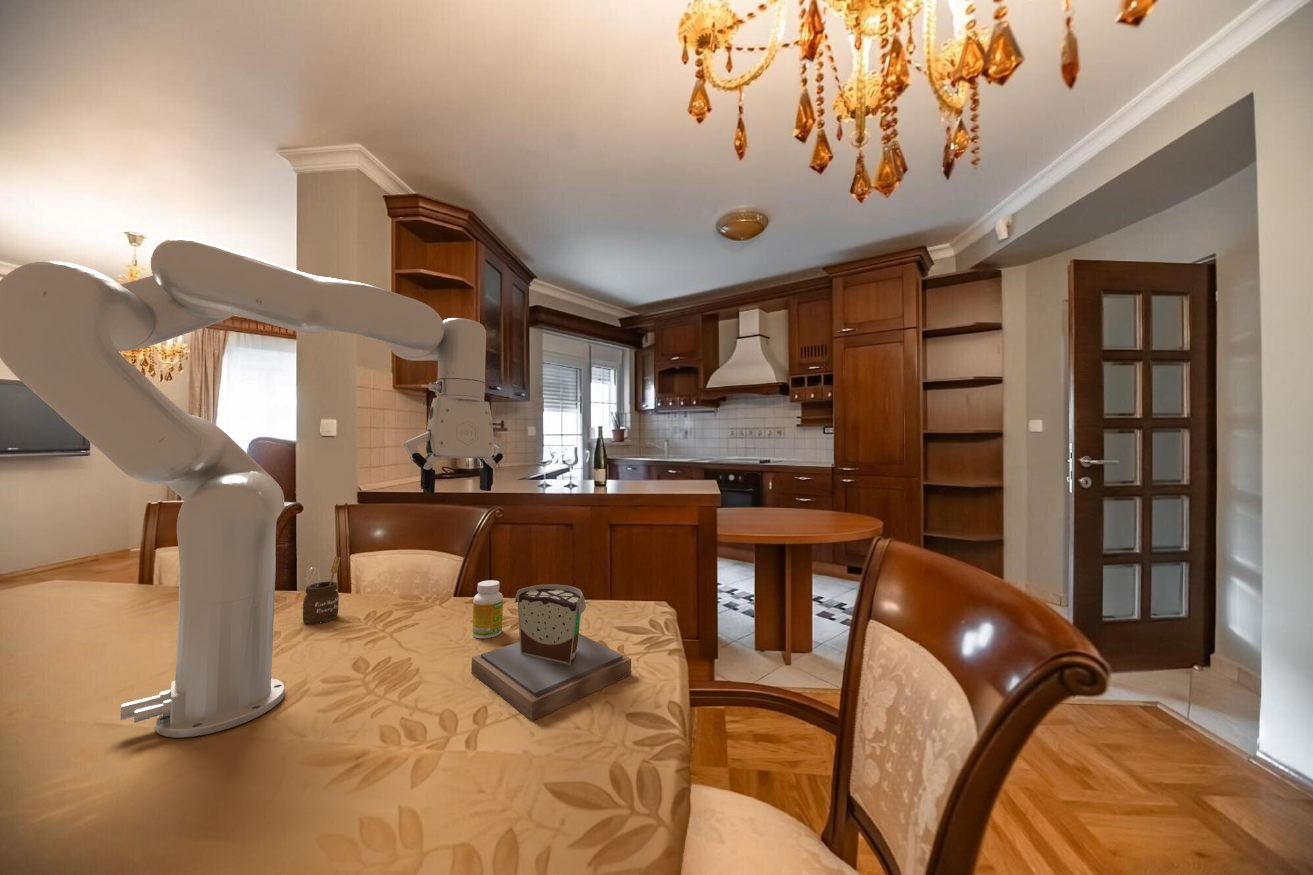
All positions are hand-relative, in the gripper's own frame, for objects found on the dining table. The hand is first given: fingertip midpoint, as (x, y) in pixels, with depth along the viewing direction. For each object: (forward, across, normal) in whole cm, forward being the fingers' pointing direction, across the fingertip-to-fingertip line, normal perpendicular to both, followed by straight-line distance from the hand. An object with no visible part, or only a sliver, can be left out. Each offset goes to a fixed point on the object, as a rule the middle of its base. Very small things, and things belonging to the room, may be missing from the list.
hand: (458, 491), depth 78 cm
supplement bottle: (+28, +9, +6) cm, 30 cm away
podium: (+28, +9, -16) cm, 34 cm away
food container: (+26, +10, -15) cm, 31 cm away
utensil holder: (+28, -12, +36) cm, 47 cm away
